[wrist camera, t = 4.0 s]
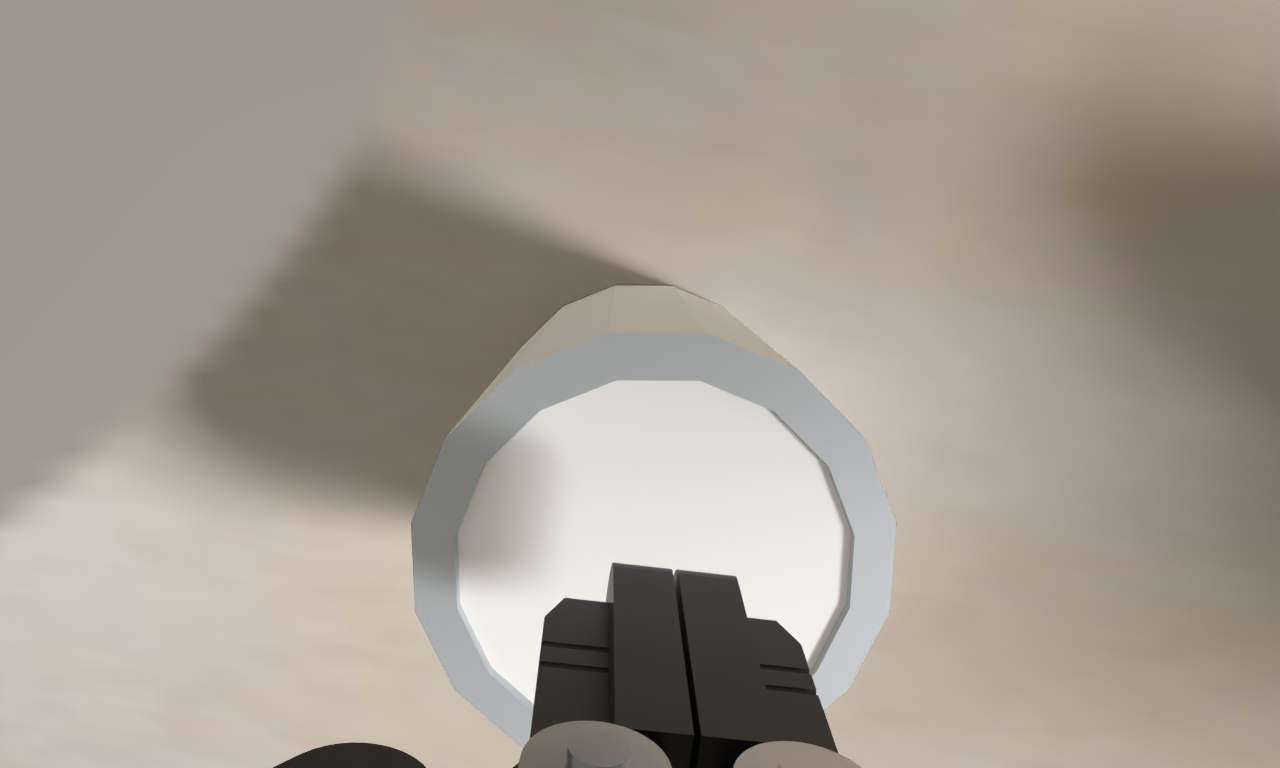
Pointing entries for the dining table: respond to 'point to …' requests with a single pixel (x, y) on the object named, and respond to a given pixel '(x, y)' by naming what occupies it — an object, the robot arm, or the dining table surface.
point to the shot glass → (647, 493)
